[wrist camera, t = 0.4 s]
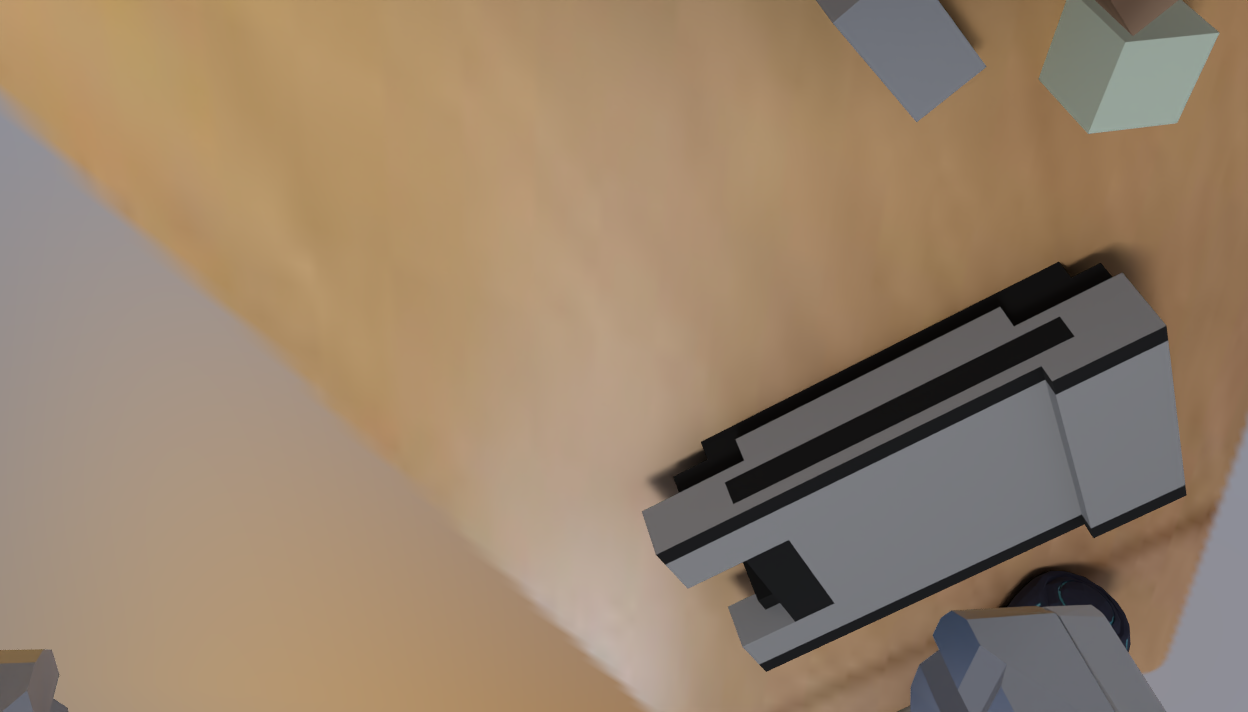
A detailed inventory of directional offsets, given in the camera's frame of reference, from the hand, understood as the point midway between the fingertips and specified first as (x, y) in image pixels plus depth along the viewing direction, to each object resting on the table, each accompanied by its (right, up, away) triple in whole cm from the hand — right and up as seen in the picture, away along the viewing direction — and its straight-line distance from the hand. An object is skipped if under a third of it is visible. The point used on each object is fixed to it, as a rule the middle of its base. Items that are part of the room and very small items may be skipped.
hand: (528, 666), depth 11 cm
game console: (+19, -3, +69) cm, 71 cm away
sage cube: (+25, +19, +47) cm, 57 cm away
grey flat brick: (+13, +19, +43) cm, 49 cm away
